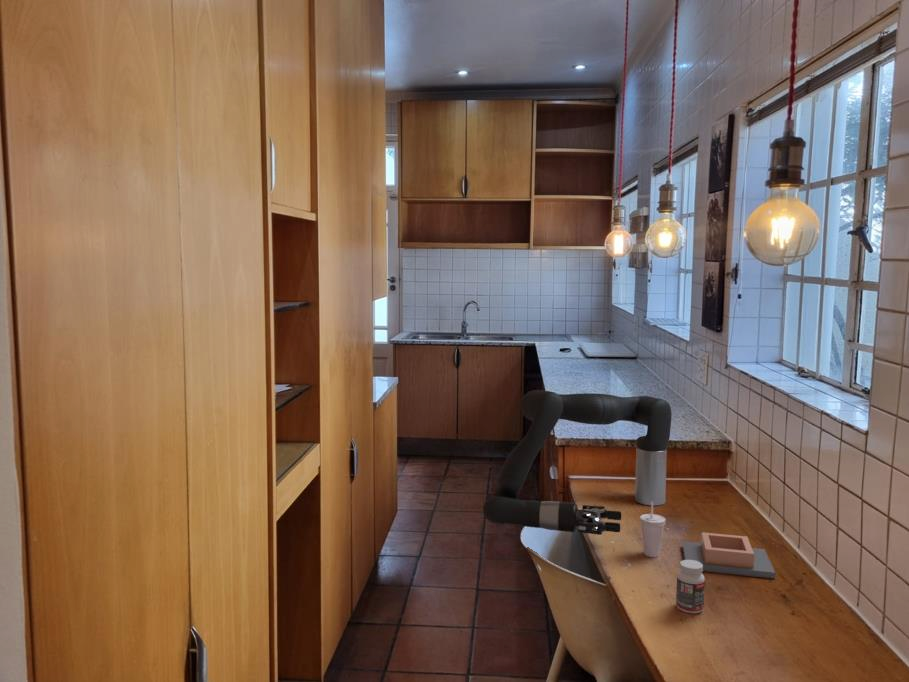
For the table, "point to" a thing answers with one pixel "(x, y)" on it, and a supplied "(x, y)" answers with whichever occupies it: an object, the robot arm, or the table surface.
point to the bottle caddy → (729, 555)
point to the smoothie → (652, 532)
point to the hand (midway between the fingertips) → (620, 521)
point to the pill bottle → (690, 587)
